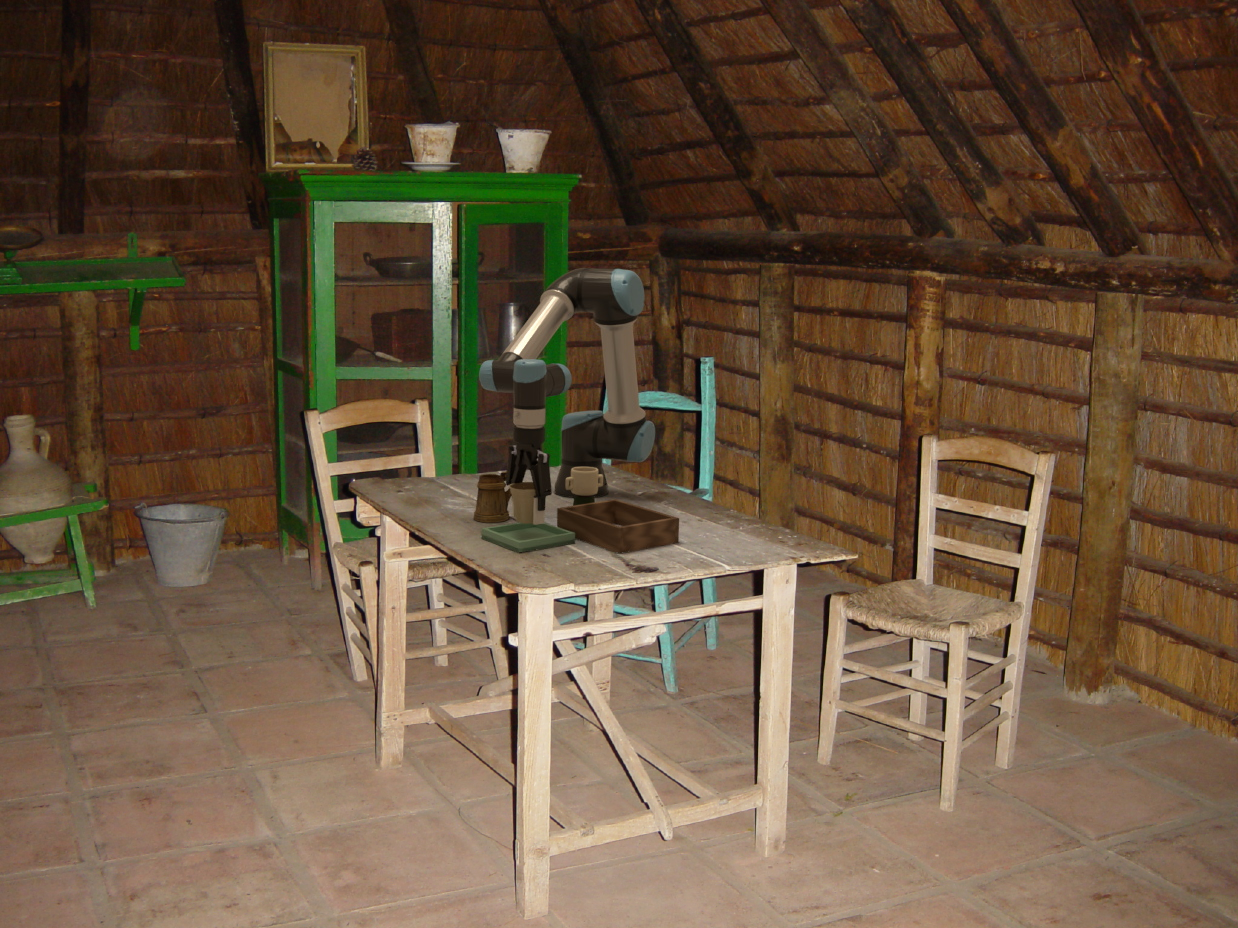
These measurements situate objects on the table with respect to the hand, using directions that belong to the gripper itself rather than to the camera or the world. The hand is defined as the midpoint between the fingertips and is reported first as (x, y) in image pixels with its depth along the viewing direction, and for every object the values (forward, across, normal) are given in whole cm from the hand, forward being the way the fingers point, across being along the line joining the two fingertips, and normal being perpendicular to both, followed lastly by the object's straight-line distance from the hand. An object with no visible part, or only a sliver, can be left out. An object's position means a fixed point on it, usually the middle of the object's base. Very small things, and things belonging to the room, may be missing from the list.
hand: (528, 519), depth 288 cm
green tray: (+5, 0, 0) cm, 5 cm away
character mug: (+5, -11, +25) cm, 28 cm away
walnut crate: (+5, +9, +20) cm, 23 cm away
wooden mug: (+5, -23, +7) cm, 25 cm away
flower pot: (0, 0, 0) cm, 1 cm away
